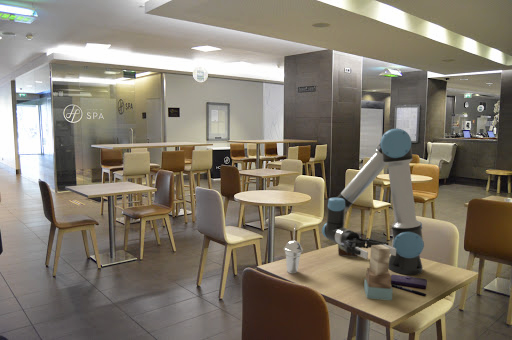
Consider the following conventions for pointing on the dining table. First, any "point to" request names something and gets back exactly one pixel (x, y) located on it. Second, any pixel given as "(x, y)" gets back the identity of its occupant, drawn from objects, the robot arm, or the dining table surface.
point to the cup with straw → (293, 254)
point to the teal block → (377, 292)
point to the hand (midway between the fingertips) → (381, 253)
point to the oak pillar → (379, 259)
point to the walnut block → (378, 280)
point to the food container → (342, 251)
